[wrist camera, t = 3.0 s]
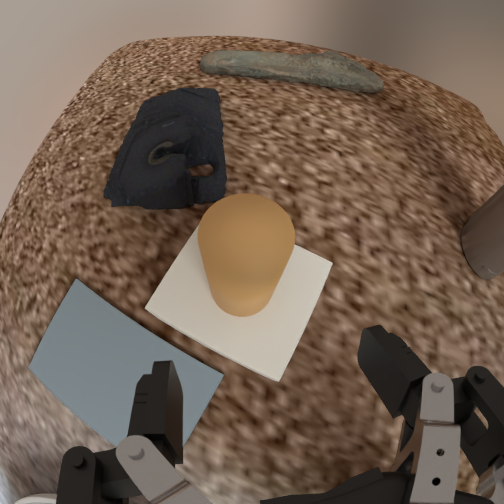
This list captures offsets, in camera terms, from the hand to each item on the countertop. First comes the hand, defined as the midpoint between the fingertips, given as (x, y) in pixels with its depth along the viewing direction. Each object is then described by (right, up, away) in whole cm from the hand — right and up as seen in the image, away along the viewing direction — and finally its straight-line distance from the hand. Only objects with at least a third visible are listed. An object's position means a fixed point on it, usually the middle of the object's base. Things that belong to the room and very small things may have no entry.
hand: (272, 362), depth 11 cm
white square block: (-2, 0, +15) cm, 15 cm away
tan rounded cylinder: (-2, +2, +12) cm, 12 cm away
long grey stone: (+7, +38, +34) cm, 51 cm away
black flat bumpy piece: (-11, +19, +24) cm, 33 cm away
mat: (-14, -7, +11) cm, 19 cm away
